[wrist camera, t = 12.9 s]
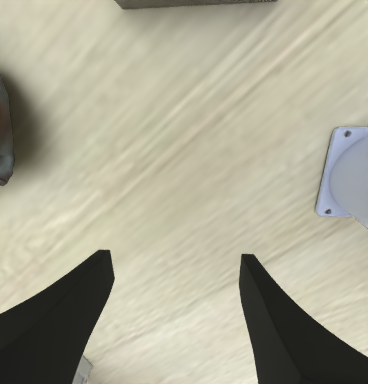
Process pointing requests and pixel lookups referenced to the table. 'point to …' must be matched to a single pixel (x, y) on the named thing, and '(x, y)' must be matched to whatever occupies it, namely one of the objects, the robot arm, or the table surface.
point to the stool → (82, 371)
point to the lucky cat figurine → (5, 137)
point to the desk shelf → (177, 3)
